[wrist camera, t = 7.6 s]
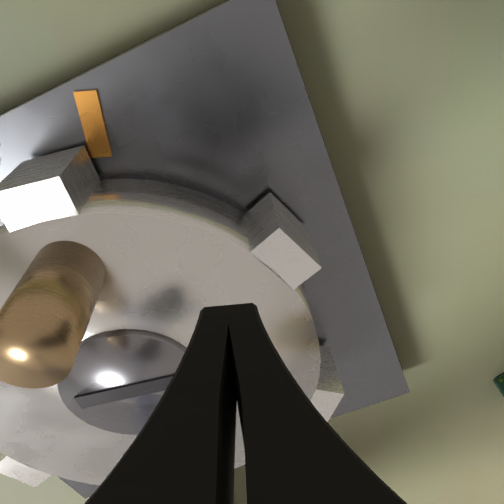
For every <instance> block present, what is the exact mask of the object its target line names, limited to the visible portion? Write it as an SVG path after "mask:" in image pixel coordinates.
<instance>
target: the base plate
mask: <svg viewBox="0 0 504 504" xmlns="http://www.w3.org/2000/svg"><path fill="white" fill-rule="evenodd" d="M83 145H84V146H85V148H86V150H87V153H88V155H89V157H90V159H91V161H92V164H93V166H94V168H95V170H96V172H97V174H98V177H99V179H100V180H104V179H121V178H125V179H142V180H153V181H159V182H164V183H170V184H175V185H180V186H183V187H186V188H189V189H193V190H196V191H199V192H202V193H205V194H207V195H209V196H212V197H214V198H216V199H218V200H221V201H223V202H225V203H227V204H229V205H231V206H232V207H234V208H236V209H237V210H239V211H241V212H242V213H244V214H246V213H247V212H248V211H249V210H250V209H251V208H252V207H253V206H255V205H256V204H257V203H258V202H259V201H260V200H261V199H263V198H264V197H265V196H266V195H267V194H268V193H269V192H270V193H271V194H273V195H274V196H275V197H276V198H277V199H278V200H279V201H280V202H281V203H282V204H283V205H284V206H285V207H286V208H287V209H288V210H289V211H290V212H291V213H292V214H293V215H294V216H295V217H296V218H297V219H298V220H299V221H300V222H301V223H302V224H303V225H304V226H305V227H306V228H307V229H308V232H309V234H310V237H311V240H312V243H313V245H314V248H315V251H316V253H317V256H318V259H319V261H320V264H321V267H322V268H321V269H320V270H319V271H317V272H316V273H315V274H313V275H312V276H311V277H310V278H308V279H307V280H306V281H304V282H303V283H302V285H303V288H304V292H305V295H306V298H307V302H308V305H309V309H310V312H311V316H312V319H313V323H314V326H315V330H316V333H317V337H318V340H319V345H321V346H327V347H330V349H331V353H332V356H333V359H334V362H335V365H336V369H337V372H338V375H339V378H340V381H341V385H342V388H343V391H344V395H343V397H342V399H341V401H340V402H339V404H338V406H337V407H336V409H335V411H334V412H333V414H332V416H331V417H330V418H332V417H335V416H338V415H341V414H345V413H348V412H351V411H354V410H357V409H360V408H363V407H366V406H369V405H372V404H375V403H378V402H381V401H384V400H387V399H390V398H394V397H397V396H400V395H403V394H406V393H409V389H408V386H407V383H406V380H405V377H404V375H403V372H402V369H401V366H400V363H399V360H398V357H397V354H396V351H395V348H394V345H393V342H392V340H391V337H390V334H389V331H388V328H387V325H386V322H385V319H384V316H383V313H382V310H381V307H380V305H379V302H378V299H377V296H376V293H375V290H374V287H373V284H372V281H371V278H370V275H369V272H368V269H367V267H366V264H365V261H364V258H363V255H362V252H361V249H360V246H359V243H358V240H357V237H356V234H355V232H354V229H353V226H352V223H351V220H350V217H349V214H348V211H347V208H346V205H345V202H344V199H343V196H342V194H341V191H340V188H339V185H338V182H337V179H336V176H335V173H334V170H333V167H332V164H331V161H330V159H329V156H328V153H327V150H326V147H325V144H324V141H323V138H322V135H321V132H320V129H319V126H318V123H317V121H316V118H315V115H314V112H313V109H312V106H311V103H310V100H309V97H308V94H307V91H306V88H305V86H304V83H303V80H302V77H301V74H300V71H299V68H298V65H297V62H296V59H295V56H294V53H293V51H292V48H291V45H290V42H289V39H288V36H287V33H286V30H285V27H284V24H283V21H282V18H281V15H280V13H279V10H278V7H277V4H276V1H275V0H226V1H224V2H222V3H220V4H218V5H216V6H214V7H212V8H210V9H208V10H207V11H205V12H203V13H201V14H199V15H197V16H195V17H193V18H191V19H189V20H187V21H185V22H183V23H181V24H179V25H177V26H175V27H173V28H171V29H169V30H167V31H165V32H163V33H161V34H159V35H157V36H155V37H153V38H151V39H149V40H147V41H145V42H143V43H141V44H139V45H137V46H135V47H133V48H131V49H129V50H127V51H125V52H123V53H121V54H119V55H117V56H115V57H113V58H111V59H109V60H107V61H105V62H103V63H101V64H99V65H97V66H95V67H93V68H91V69H89V70H87V71H85V72H83V73H81V74H79V75H77V76H75V77H73V78H71V79H69V80H67V81H65V82H63V83H61V84H59V85H58V86H56V87H54V88H52V89H50V90H48V91H46V92H44V93H42V94H40V95H38V96H36V97H34V98H32V99H30V100H28V101H26V102H24V103H22V104H20V105H18V106H16V107H14V108H12V109H10V110H8V111H6V112H4V113H2V114H0V182H1V181H2V180H3V179H4V178H5V177H6V176H7V175H9V174H10V173H11V172H12V171H13V170H14V169H15V168H16V167H17V166H18V165H19V164H20V163H22V162H23V161H26V160H29V159H33V158H37V157H41V156H45V155H49V154H53V153H56V152H60V151H64V150H68V149H72V148H76V147H79V146H83ZM0 220H1V217H0ZM59 478H60V479H61V480H63V481H64V482H65V483H66V484H68V485H69V486H70V487H71V488H73V489H74V490H75V491H76V492H78V493H79V494H80V495H81V496H83V497H84V498H88V497H91V495H92V494H93V493H94V492H95V491H96V490H97V488H98V487H99V486H100V485H93V484H87V483H82V482H77V481H72V480H68V479H64V478H61V477H59Z"/></svg>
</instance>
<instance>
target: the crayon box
mask: <svg viewBox="0 0 504 504" xmlns="http://www.w3.org/2000/svg"><path fill="white" fill-rule="evenodd" d="M493 382H494V383H495V385H496V386H497V388H498V389H499V390H500V392H501V393H502V395H503V396H504V373H503V374H502V375H500V376H498V377H497V378H496V379H494V380H493Z"/></svg>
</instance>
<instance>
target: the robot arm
mask: <svg viewBox="0 0 504 504" xmlns="http://www.w3.org/2000/svg"><path fill="white" fill-rule="evenodd" d="M237 404H238V411H239V417H240V424H241V430H242V437H243V443H244V449H245V466H246V486H247V504H407V503H406V502H405V501H404V500H402V499H401V498H400V497H399V496H398V495H397V494H396V493H395V492H394V491H393V490H392V489H391V488H390V487H389V486H387V485H386V484H385V483H384V482H383V481H382V480H381V479H380V478H379V477H378V476H377V475H376V474H375V473H374V472H373V471H372V470H371V469H370V468H369V467H368V466H367V465H366V464H365V463H364V462H363V461H362V460H361V459H360V458H359V457H358V456H357V454H356V453H355V452H354V451H353V450H352V449H351V448H350V447H349V446H348V445H347V444H346V443H345V442H344V441H343V440H342V439H341V438H340V436H339V435H338V434H337V433H336V432H335V431H334V429H333V428H332V427H331V426H330V425H329V424H328V423H327V421H326V420H325V419H324V418H323V416H322V415H321V414H320V413H319V411H318V410H317V409H316V408H315V406H314V405H313V404H312V403H311V401H310V400H309V399H308V397H307V396H306V394H305V393H304V392H303V390H302V389H301V387H300V386H299V385H298V383H297V382H296V380H295V379H294V377H293V376H292V374H291V373H290V371H289V370H288V368H287V367H286V365H285V363H284V362H283V360H282V358H281V357H280V355H279V353H278V352H277V350H276V348H275V346H274V345H273V343H272V341H271V339H270V337H269V335H268V333H267V331H266V329H265V327H264V325H263V322H262V320H261V317H260V315H259V312H258V308H257V306H256V305H255V304H254V303H244V304H233V305H222V306H210V307H204V308H203V309H202V310H201V311H200V314H199V317H198V321H197V324H196V326H195V329H194V332H193V334H192V337H191V339H190V342H189V344H188V346H187V349H186V351H185V353H184V355H183V357H182V359H181V361H180V363H179V366H178V368H177V370H176V372H175V374H174V376H173V377H172V379H171V381H170V383H169V385H168V386H167V388H166V390H165V392H164V394H163V395H162V397H161V399H160V401H159V402H158V404H157V406H156V407H155V409H154V411H153V412H152V414H151V416H150V417H149V419H148V420H147V422H146V423H145V425H144V426H143V428H142V429H141V431H140V432H139V434H138V435H137V437H136V438H135V440H134V441H133V443H132V444H131V445H130V447H129V448H128V449H127V451H126V452H125V453H124V455H123V456H122V458H121V459H120V460H119V462H118V463H117V464H116V466H115V467H114V468H113V470H112V471H111V472H110V473H109V475H108V476H107V477H106V479H105V480H104V481H103V482H102V484H101V485H100V486H99V487H98V488H97V490H96V491H95V492H94V493H93V494H92V495H91V497H90V498H89V499H88V500H87V501H86V502H85V504H234V463H235V437H236V411H237Z"/></svg>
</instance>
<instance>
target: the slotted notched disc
mask: <svg viewBox="0 0 504 504" xmlns="http://www.w3.org/2000/svg"><path fill="white" fill-rule="evenodd" d="M0 217H1V220H0V473H1V474H4V475H6V476H9V477H11V478H14V479H16V480H19V481H21V482H24V483H26V484H29V485H31V486H34V487H37V486H38V485H39V484H40V483H42V482H43V481H44V480H46V479H47V478H48V477H50V476H51V475H54V476H57V477H61V478H64V479H68V480H72V481H77V482H82V483H87V484H93V485H101V484H102V482H103V481H104V480H105V479H106V477H107V476H108V475H109V473H110V472H111V471H112V470H113V468H114V467H115V466H116V464H117V463H118V462H119V460H120V459H121V458H122V456H123V455H124V453H125V452H126V451H127V449H128V448H129V447H130V445H131V444H132V443H133V441H134V440H135V438H136V437H137V435H138V434H139V432H140V431H141V429H142V428H143V426H144V425H145V423H146V422H147V420H148V419H149V417H150V416H151V414H152V412H153V411H154V409H155V407H156V406H157V404H158V402H159V401H160V399H161V397H162V395H163V394H164V392H165V390H166V388H167V386H168V385H169V383H170V381H171V379H172V377H173V376H174V374H175V372H176V370H177V368H178V366H179V363H180V361H181V359H182V357H183V355H184V353H185V351H186V349H187V346H188V344H189V342H190V339H191V337H192V334H193V332H194V329H195V326H196V324H197V321H198V317H199V314H200V311H201V310H202V309H203V308H204V307H210V306H222V305H233V304H244V303H254V304H255V305H256V306H257V308H258V312H259V315H260V317H261V320H262V322H263V325H264V327H265V329H266V331H267V333H268V335H269V337H270V339H271V341H272V343H273V345H274V346H275V348H276V350H277V352H278V353H279V355H280V357H281V358H282V360H283V362H284V363H285V365H286V367H287V368H288V370H289V371H290V373H291V374H292V376H293V377H294V379H295V380H296V382H297V383H298V385H299V386H300V387H301V389H302V390H303V392H304V393H305V394H306V396H307V397H308V399H309V400H310V401H311V403H312V404H313V405H314V406H315V408H316V409H317V410H318V411H319V413H320V414H321V415H322V416H323V418H324V419H325V420H326V421H327V422H328V421H329V419H330V417H331V416H332V414H333V412H334V411H335V409H336V407H337V406H338V404H339V402H340V401H341V399H342V397H343V395H344V391H343V388H342V385H341V381H340V378H339V375H338V372H337V369H336V365H335V362H334V359H333V356H332V353H331V349H330V347H327V346H321V345H319V340H318V337H317V333H316V330H315V326H314V323H313V319H312V316H311V312H310V309H309V305H308V302H307V298H306V295H305V292H304V288H303V285H302V283H303V282H304V281H306V280H307V279H308V278H310V277H311V276H312V275H313V274H315V273H316V272H317V271H319V270H320V269H321V268H322V267H321V264H320V261H319V259H318V256H317V253H316V251H315V248H314V245H313V243H312V240H311V237H310V234H309V232H308V229H307V228H306V227H305V226H304V225H303V224H302V223H301V222H300V221H299V220H298V219H297V218H296V217H295V216H294V215H293V214H292V213H291V212H290V211H289V210H288V209H287V208H286V207H285V206H284V205H283V204H282V203H281V202H280V201H279V200H278V199H277V198H276V197H275V196H274V195H273V194H271V193H270V192H269V193H268V194H267V195H266V196H265V197H264V198H263V199H261V200H260V201H259V202H258V203H257V204H256V205H255V206H253V207H252V208H251V209H250V210H249V211H248V212H247V213H246V214H244V213H242V212H241V211H239V210H237V209H236V208H234V207H232V206H231V205H229V204H227V203H225V202H223V201H221V200H218V199H216V198H214V197H212V196H209V195H207V194H205V193H202V192H199V191H196V190H193V189H189V188H186V187H183V186H180V185H175V184H170V183H164V182H159V181H153V180H142V179H125V178H121V179H104V180H100V179H99V177H98V174H97V172H96V170H95V168H94V166H93V164H92V161H91V159H90V157H89V155H88V153H87V150H86V148H85V146H84V145H83V146H79V147H76V148H72V149H68V150H64V151H60V152H56V153H53V154H49V155H45V156H41V157H37V158H33V159H29V160H26V161H23V162H22V163H20V164H19V165H18V166H17V167H16V168H15V169H14V170H13V171H12V172H11V173H10V174H9V175H7V176H6V177H5V178H4V179H3V180H2V181H1V182H0ZM243 465H245V449H244V443H243V437H242V430H241V424H240V417H239V411H238V404H237V411H236V437H235V463H234V469H236V468H238V467H240V466H243Z"/></svg>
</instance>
